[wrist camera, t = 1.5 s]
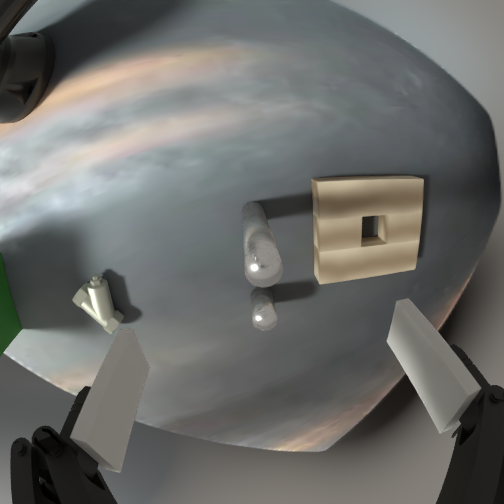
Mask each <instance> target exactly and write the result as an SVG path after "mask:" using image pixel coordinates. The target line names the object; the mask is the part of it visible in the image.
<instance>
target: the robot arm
mask: <svg viewBox="0 0 504 504" xmlns="http://www.w3.org/2000/svg"><path fill="white" fill-rule="evenodd" d="M37 1H38V0H0V123H14V122H17V121H19V120H21V119H23V118H24V117H25V116H27V115H28V114H29V113H30V112H31V111H32V109H33V108H34V107H35V106H36V104H37V103H38V101H39V100H40V98H41V96H42V95H43V93H44V91H45V89H46V87H47V84H48V82H49V79H50V77H51V73H52V70H53V65H54V57H55V52H54V46H53V43H52V41H51V40H50V38H49V37H47V36H45V35H43V34H40V33H36V32H29V33H21V34H14V35H9V33H10V32H11V31H12V29H13V28H14V27H15V26H16V24H17V23H18V22H19V21H20V20H21V18H22V17H23V16H24V15H25V14H26V13H27V11H28V10H29V9H30V8H31V7H32V6H33V5H34V4H35V3H36V2H37ZM387 343H388V344H389V346H390V347H391V349H392V351H393V352H394V354H395V355H396V357H397V359H398V360H399V362H400V364H401V365H402V367H403V369H404V370H405V372H406V374H407V375H408V377H409V378H410V380H411V382H412V384H413V386H414V387H415V389H416V391H417V392H418V394H419V396H420V398H421V400H422V401H423V403H424V405H425V407H426V408H427V410H428V412H429V414H430V416H431V418H432V420H433V421H434V423H435V425H436V427H437V429H438V431H439V433H440V434H441V433H442V432H445V431H447V430H448V429H450V428H452V427H453V426H454V425H455V424H456V423H457V421H458V420H459V421H460V423H461V425H460V426H459V427H458V428H457V429H456V431H455V432H454V433H453V435H452V438H453V437H454V436H455V435H456V434H457V433H458V434H457V437H456V442H455V447H454V451H453V454H452V458H451V462H450V465H449V468H448V472H447V475H446V478H445V481H444V484H443V486H442V490H441V492H440V495H439V497H438V500H437V502H436V504H504V389H503V388H502V387H500V386H497V385H492V386H490V384H489V383H488V382H487V381H486V379H485V378H484V377H483V375H482V374H481V373H480V371H479V370H478V369H477V367H476V366H475V365H474V364H473V362H472V361H471V360H470V359H468V356H467V355H466V354H465V352H464V351H463V350H462V349H461V348H459V347H457V346H456V345H454V344H453V345H450V346H449V345H448V344H447V343H446V341H445V340H444V339H443V338H442V337H441V335H440V334H439V333H438V332H437V330H436V329H435V328H434V327H433V326H432V325H431V323H430V322H429V321H428V320H427V319H426V318H425V316H424V315H423V314H422V313H421V312H420V311H419V310H418V309H417V307H416V306H415V305H414V304H413V303H412V302H411V301H410V300H409V299H403V300H399V301H396V306H395V310H394V315H393V319H392V324H391V328H390V332H389V336H388V340H387ZM149 369H150V367H149V365H148V362H147V360H146V358H145V356H144V353H143V351H142V349H141V346H140V344H139V342H138V339H137V337H136V334H135V332H134V330H133V329H120V331H119V332H118V334H117V336H116V338H115V340H114V342H113V344H112V346H111V348H110V350H109V352H108V354H107V356H106V358H105V360H104V362H103V364H102V366H101V368H100V370H99V372H98V374H97V376H96V378H95V380H94V383H93V385H92V387H88V386H85V387H84V388H83V389H82V390H81V391H80V392H79V393H78V395H77V397H76V399H75V401H74V404H73V406H72V408H71V411H70V412H69V414H68V417H67V419H66V421H65V423H64V426H63V428H62V431H61V433H60V435H59V434H58V433H57V432H56V431H55V430H54V429H52V428H51V427H50V426H42V427H39V428H38V429H37V430H36V431H35V432H34V433H33V436H32V443H30V442H29V441H28V440H27V439H26V438H18V439H16V440H15V441H14V442H13V444H12V447H11V492H12V503H13V504H117V502H116V500H115V499H114V497H113V495H112V494H111V492H110V490H109V489H108V486H107V484H106V483H105V481H104V479H103V477H102V475H101V473H100V472H99V471H98V469H97V468H98V464H100V465H101V466H102V467H103V468H105V469H107V470H111V471H115V472H120V473H121V469H122V465H123V460H124V456H125V452H126V448H127V444H128V441H129V437H130V433H131V429H132V426H133V422H134V419H135V415H136V412H137V408H138V405H139V401H140V398H141V395H142V391H143V388H144V385H145V382H146V378H147V375H148V372H149ZM39 478H40V479H39ZM39 480H40V481H39Z"/></svg>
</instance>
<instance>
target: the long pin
mask: <svg viewBox="0 0 504 504" xmlns="http://www.w3.org/2000/svg"><path fill="white" fill-rule="evenodd" d="M242 217H243V239H244V261H245V275H246V278H247V279H248V281H249V282H250V283H251V284H253V285H255V286H257V287H269V286H272V285H274V284H276V283H277V282H278V281H279V280H280V278H281V277H282V274H283V265H282V262H281V259H280V256H279V253H278V250H277V247H276V244H275V241H274V238H273V235H272V233H271V230H270V227H269V224H268V221H267V218H266V215H265V213H264V210H263V207H262V206H261V204H259V203H258V202H249V203H247V204H246V205H245V206H244V207H243V210H242Z"/></svg>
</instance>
